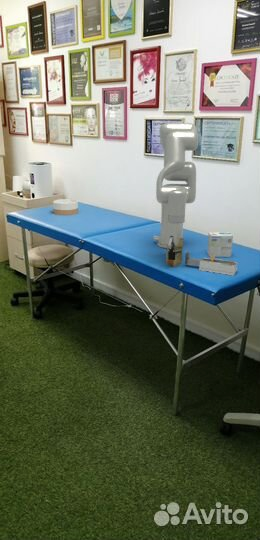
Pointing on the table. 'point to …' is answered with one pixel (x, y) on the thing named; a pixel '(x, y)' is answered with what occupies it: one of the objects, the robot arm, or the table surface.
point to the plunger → (196, 260)
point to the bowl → (65, 207)
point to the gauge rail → (219, 266)
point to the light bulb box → (220, 244)
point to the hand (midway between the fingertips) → (174, 257)
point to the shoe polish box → (178, 254)
